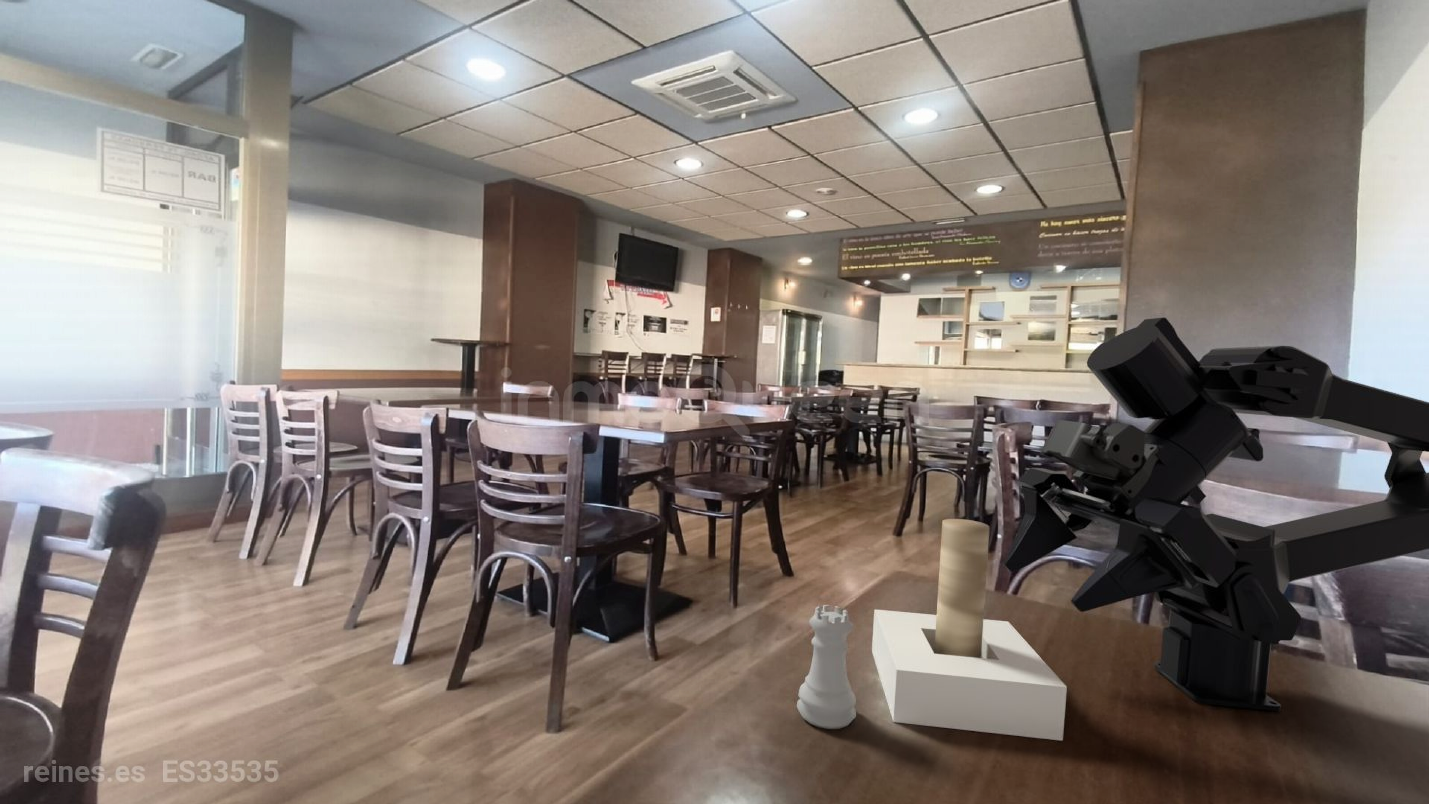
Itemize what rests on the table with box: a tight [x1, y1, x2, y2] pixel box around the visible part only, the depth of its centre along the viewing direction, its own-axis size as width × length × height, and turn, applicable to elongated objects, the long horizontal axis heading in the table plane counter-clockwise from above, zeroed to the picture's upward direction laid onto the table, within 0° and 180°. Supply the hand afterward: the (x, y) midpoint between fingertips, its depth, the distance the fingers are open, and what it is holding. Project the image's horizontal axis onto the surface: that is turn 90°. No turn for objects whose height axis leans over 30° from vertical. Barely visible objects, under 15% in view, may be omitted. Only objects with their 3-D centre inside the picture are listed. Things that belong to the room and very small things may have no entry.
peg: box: [934, 518, 990, 658], centre depth 51 cm, size 4×4×13 cm
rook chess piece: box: [796, 604, 857, 730], centre depth 47 cm, size 4×4×8 cm
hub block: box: [871, 609, 1068, 741], centre depth 51 cm, size 12×12×4 cm
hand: (1038, 586), depth 52 cm, fingers open, 9 cm apart
